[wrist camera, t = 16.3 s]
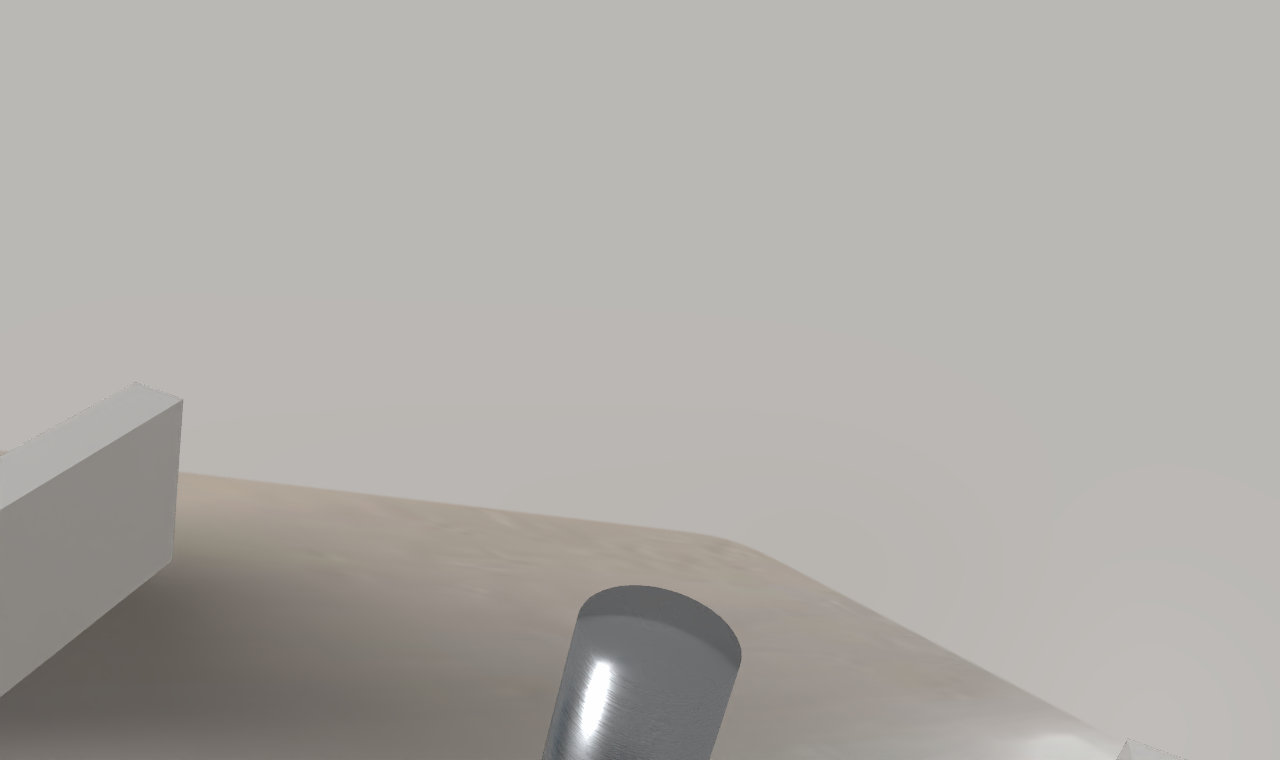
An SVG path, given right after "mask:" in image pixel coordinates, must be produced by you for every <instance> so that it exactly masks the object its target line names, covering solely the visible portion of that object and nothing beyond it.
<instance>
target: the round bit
mask: <svg viewBox="0 0 1280 760" xmlns="http://www.w3.org/2000/svg"><path fill="white" fill-rule="evenodd" d="M740 663H741V648H740V644H739V642H738V639H737V637H736V636H735V634H734V632H733V631H732V629H731V628H730V627H729V626H728V624H727V623H726V622H725V621H724V620H723V619H722V618H721V617H719V616H718V615H717V614H716V613H715V612H713V611H712V610H710V609H709V608H708V607H706V606H704V605H703V604H701V603H699V602H697V601H695V600H693V599H691V598H689V597H687V596H684V595H682V594H679V593H676V592H673V591H670V590H666V589H662V588H656V587H650V586H639V585H629V586H619V587H614V588H610V589H606V590H603V591H601V592H599V593H597V594H595V595H594V596H592V597H590V598H589V599H588V600H587V601H586V602H585V603H584V605H583V606H582V607H581V609H580V611H579V614H578V618H577V622H576V626H575V630H574V634H573V638H572V642H571V645H570V649H569V653H568V657H567V661H566V665H565V669H564V673H563V677H562V681H561V685H560V689H559V693H558V697H557V701H556V705H555V709H554V713H553V717H552V721H551V725H550V729H549V732H548V736H547V740H546V744H545V748H544V752H543V756H542V760H709V758H710V755H711V752H712V749H713V746H714V743H715V740H716V737H717V734H718V731H719V728H720V725H721V722H722V719H723V716H724V713H725V710H726V707H727V703H728V700H729V697H730V694H731V691H732V688H733V685H734V682H735V679H736V676H737V673H738V670H739V667H740Z"/></svg>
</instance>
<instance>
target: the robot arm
mask: <svg viewBox="0 0 1280 760" xmlns="http://www.w3.org/2000/svg"><path fill="white" fill-rule="evenodd" d="M182 409H183V399H181V398H178V397H176V396H173V395H170V394H167V393H164V392H162V391H159V390H156V389H153V388H150V387H148V386H145V385H142V384H139V383H137V382H135V383H133V384H131V385H129V386H127V387H125V388H124V389H122V390H120V391H118V392H116V393H115V394H113V395H111V396H109V397H107V398H105V399H104V400H102V401H100V402H98V403H96V404H95V405H93V406H91V407H89V408H87V409H85V410H84V411H82V412H80V413H79V414H76V415H75V416H73V417H71V418H69V419H67V420H65V421H64V422H62V423H60V424H58V425H56V426H55V427H53V428H51V429H49V430H47V431H46V432H44V433H42V434H40V435H38V436H36V437H35V438H33V439H31V440H29V441H27V442H26V443H24V444H22V445H20V446H18V447H16V448H15V449H13V450H11V451H9V452H7V453H6V454H4V455H2V456H0V697H1V696H2V695H4V694H5V693H6V692H7V691H9V690H10V689H11V688H13V687H14V686H15V685H16V684H18V683H19V682H20V681H21V680H23V679H24V678H25V677H26V676H28V675H29V674H30V673H31V672H33V671H34V670H35V669H36V668H38V667H39V666H40V665H41V664H43V663H44V662H45V661H46V660H48V659H49V658H50V657H52V656H53V655H54V654H55V653H57V652H58V651H59V650H60V649H62V648H63V647H64V646H65V645H67V644H68V643H69V642H70V641H72V640H73V639H74V638H75V637H77V636H78V635H79V634H80V633H82V632H83V631H84V630H85V629H87V628H88V627H89V626H90V625H92V624H93V623H94V622H96V621H97V620H98V619H99V618H101V617H102V616H103V615H104V614H106V613H107V612H108V611H109V610H111V609H112V608H113V607H114V606H116V605H117V604H118V603H119V602H121V601H122V600H123V599H124V598H126V597H127V596H128V595H129V594H131V593H132V592H133V591H135V590H136V589H137V588H138V587H140V586H141V585H142V584H143V583H145V582H146V581H147V580H148V579H150V578H151V577H152V576H153V575H155V574H156V573H157V572H158V571H160V570H161V569H162V568H163V567H165V566H166V565H167V564H168V563H170V562H171V561H172V556H173V542H174V527H175V512H176V498H177V483H178V469H179V453H180V439H181V425H182ZM1117 760H1186V759H1183V758H1180V757H1177V756H1175V755H1172V754H1169V753H1166V752H1163V751H1161V750H1158V749H1155V748H1152V747H1149V746H1147V745H1144V744H1141V743H1138V742H1135V741H1133V740H1130V739H1128V740H1127V741H1126V743H1125V745H1124V747H1123V749H1122V751H1121V753H1120V755H1119V756H1118V758H1117Z"/></svg>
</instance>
